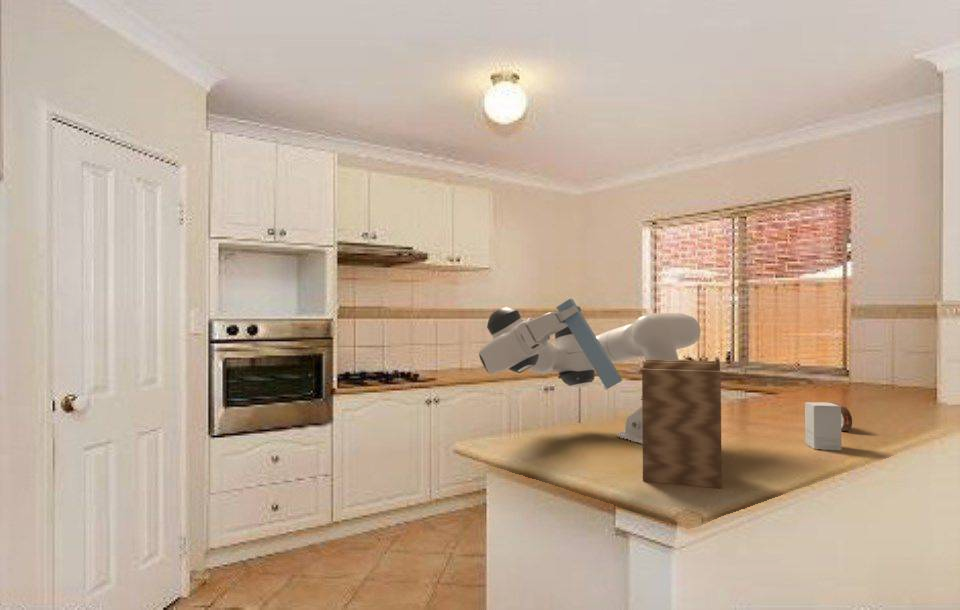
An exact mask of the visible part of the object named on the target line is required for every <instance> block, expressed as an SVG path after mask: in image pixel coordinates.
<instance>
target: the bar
mask: <svg viewBox="0 0 960 610" xmlns="http://www.w3.org/2000/svg"><path fill="white" fill-rule="evenodd" d="M572 306H575V307H576V308H577V309H578V307H577V306H578V305H577V304H576V302H575V301H574V299H573V298H569V299H567V300H565V301H564V302H563V303H561V304H559V305H558V306H556V309H557V310H558V312H562V311H564V310H567V309H569V308H570V307H572ZM564 321H565V322H566V324H567V326H568V327H569V329H570V330H571V332H572V334H573V335H574V337H575V339H576V340H577V342H578V343H579V345H580V347H581V348H582V350H583V352H584V353H585V355H586V357H587V358H588V360H589V361H590V363H591V365H592V366H593V370H594V371H595V373H596V374H597V376H598V378H599V380H600V381H601V382H602V384H603V386H604V388H605V389H606V390H609V389H610V388H612V387H614V386H615V385H617V384H619V383H621V382H622V381H623V378H622V376H621V375H620V373H619V372H618V370H617V368H616V366H615V365H614V363H612V362H611V360H610V359H609V357H608V355H607V354H606V352H605V351H604V349H603V347H602V346H601V344H600V342H599V341H598V339H597V338H596V336H597V335H596V334H595V333H594V331H593V329H592V327H591V326H590V325H589V323H588V321H587V320H586V318H585V317H584V315H583V314H582V312H580V310H579V309H578V312H577V313H575V314H574V315H572V316H570V317H568V318H567V319H565V320H564Z"/></svg>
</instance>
